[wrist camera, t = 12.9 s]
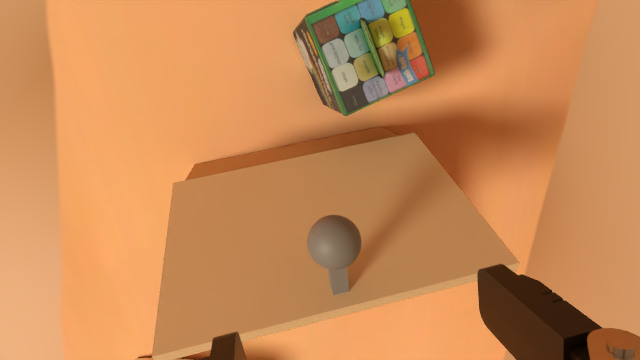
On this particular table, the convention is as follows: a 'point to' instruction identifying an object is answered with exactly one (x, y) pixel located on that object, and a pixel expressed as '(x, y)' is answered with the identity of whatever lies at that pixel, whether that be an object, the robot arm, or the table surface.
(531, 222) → the table surface
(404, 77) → the chalk box
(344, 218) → the carton flap
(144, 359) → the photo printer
